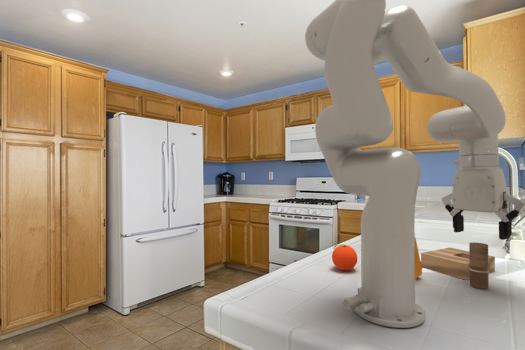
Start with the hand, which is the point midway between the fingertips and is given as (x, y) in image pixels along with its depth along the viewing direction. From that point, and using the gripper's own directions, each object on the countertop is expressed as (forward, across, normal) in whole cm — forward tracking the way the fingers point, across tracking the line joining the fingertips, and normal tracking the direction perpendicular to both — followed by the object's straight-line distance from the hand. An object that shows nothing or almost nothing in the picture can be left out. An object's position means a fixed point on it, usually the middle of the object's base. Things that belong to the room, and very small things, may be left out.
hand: (480, 235), depth 70 cm
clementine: (+12, -25, -20) cm, 34 cm away
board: (+12, -10, +8) cm, 18 cm away
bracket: (+12, -13, -13) cm, 22 cm away
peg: (+12, 0, -1) cm, 12 cm away
